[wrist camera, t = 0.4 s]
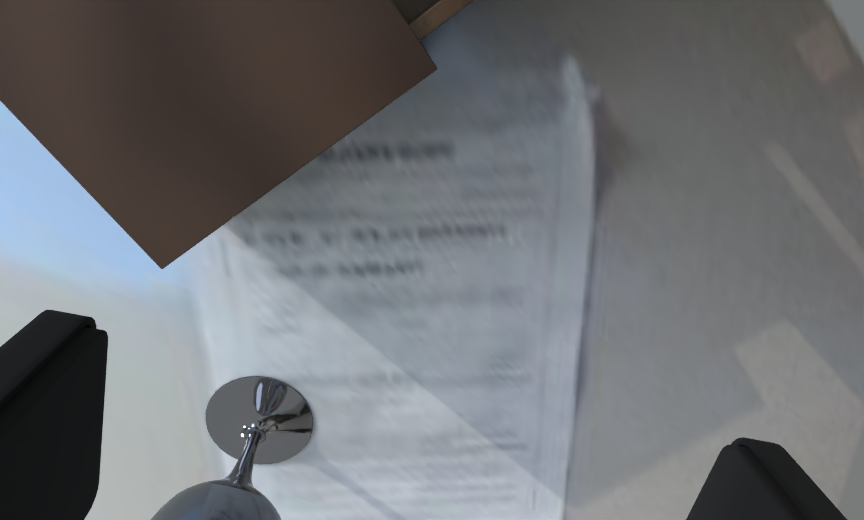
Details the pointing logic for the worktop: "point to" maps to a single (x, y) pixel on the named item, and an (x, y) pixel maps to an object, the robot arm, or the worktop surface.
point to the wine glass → (245, 449)
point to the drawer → (428, 13)
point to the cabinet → (197, 97)
